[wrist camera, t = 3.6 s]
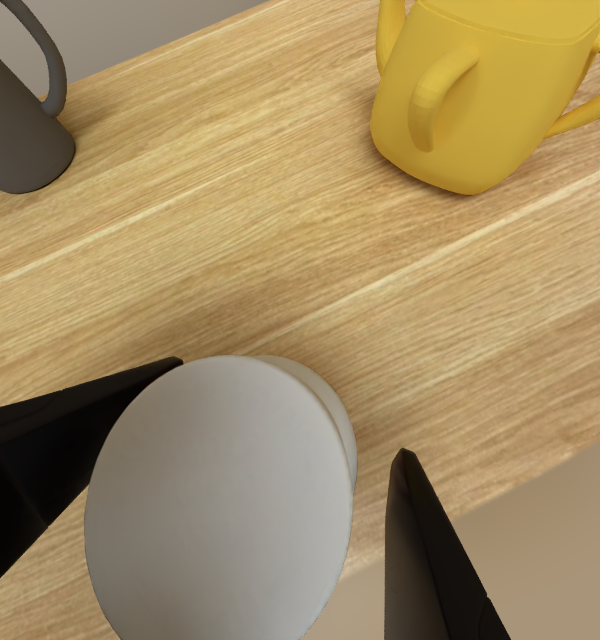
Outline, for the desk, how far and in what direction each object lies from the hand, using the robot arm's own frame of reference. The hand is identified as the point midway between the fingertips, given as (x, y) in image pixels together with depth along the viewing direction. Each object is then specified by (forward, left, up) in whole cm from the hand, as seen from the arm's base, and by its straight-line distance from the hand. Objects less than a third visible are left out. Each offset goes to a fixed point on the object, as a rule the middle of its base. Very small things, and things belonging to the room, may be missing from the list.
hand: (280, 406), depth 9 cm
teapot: (+22, -10, -7) cm, 25 cm away
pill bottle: (-1, 0, -7) cm, 7 cm away
